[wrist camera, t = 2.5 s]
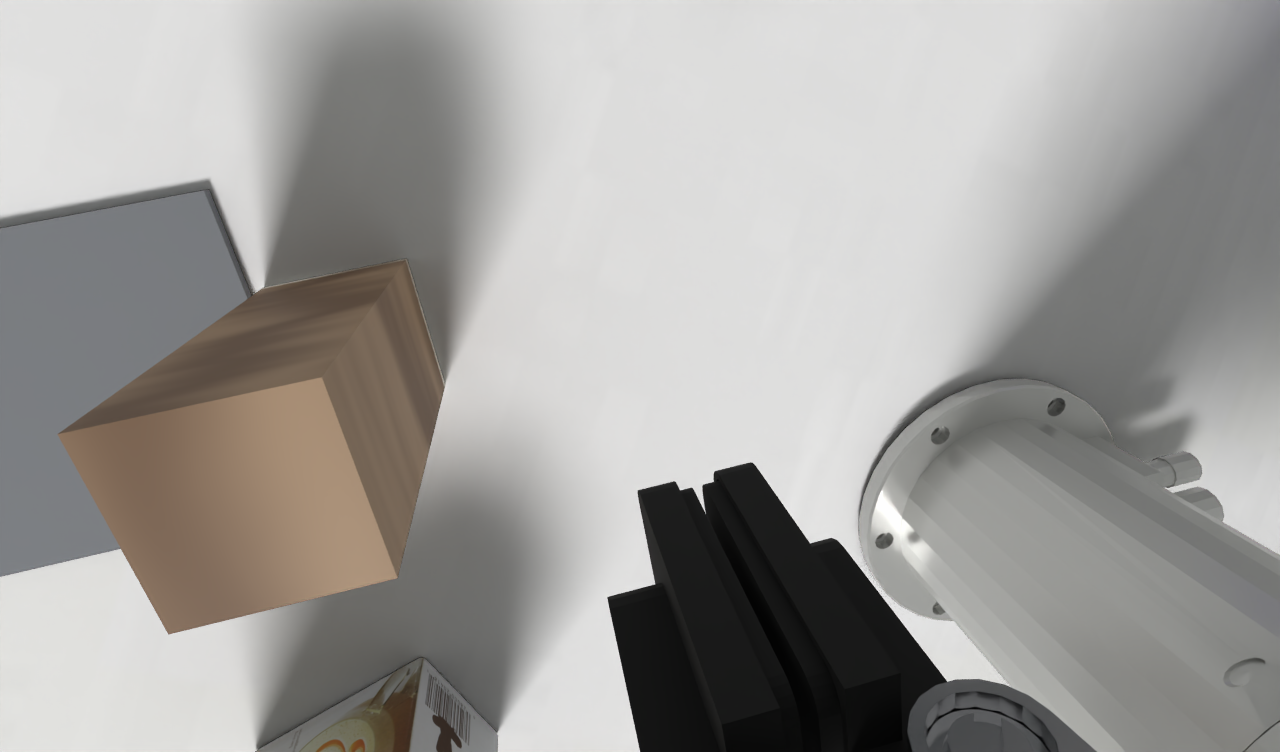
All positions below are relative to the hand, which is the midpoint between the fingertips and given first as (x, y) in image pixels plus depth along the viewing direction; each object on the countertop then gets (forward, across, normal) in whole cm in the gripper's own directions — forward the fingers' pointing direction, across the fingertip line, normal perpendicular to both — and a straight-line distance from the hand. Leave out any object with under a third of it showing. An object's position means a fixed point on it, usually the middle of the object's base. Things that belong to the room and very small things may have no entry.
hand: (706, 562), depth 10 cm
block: (+18, +8, 0) cm, 20 cm away
